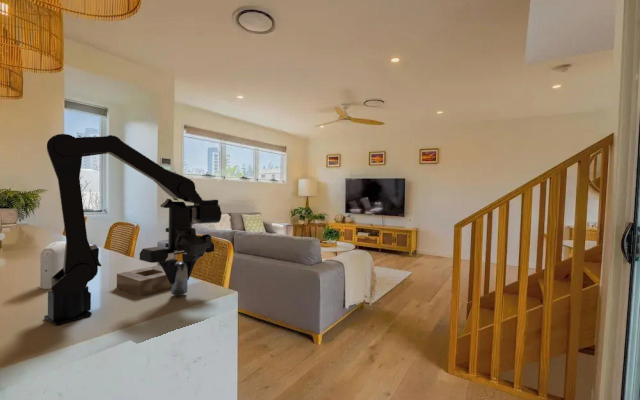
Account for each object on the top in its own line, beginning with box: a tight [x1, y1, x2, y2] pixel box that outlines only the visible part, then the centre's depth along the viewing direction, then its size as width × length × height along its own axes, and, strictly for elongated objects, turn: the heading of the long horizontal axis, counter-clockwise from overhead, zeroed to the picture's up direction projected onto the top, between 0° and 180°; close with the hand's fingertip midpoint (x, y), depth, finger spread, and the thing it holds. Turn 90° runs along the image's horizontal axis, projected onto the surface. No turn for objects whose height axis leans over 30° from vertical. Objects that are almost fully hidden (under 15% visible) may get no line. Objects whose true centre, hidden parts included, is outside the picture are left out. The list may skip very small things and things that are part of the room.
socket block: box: [116, 265, 171, 297], centre depth 89 cm, size 12×12×4 cm
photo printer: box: [39, 240, 66, 290], centre depth 89 cm, size 10×4×12 cm, turn 17°
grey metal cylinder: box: [170, 260, 189, 296], centre depth 82 cm, size 4×4×8 cm
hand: (179, 281), depth 82 cm, fingers closed on grey metal cylinder, 4 cm apart
